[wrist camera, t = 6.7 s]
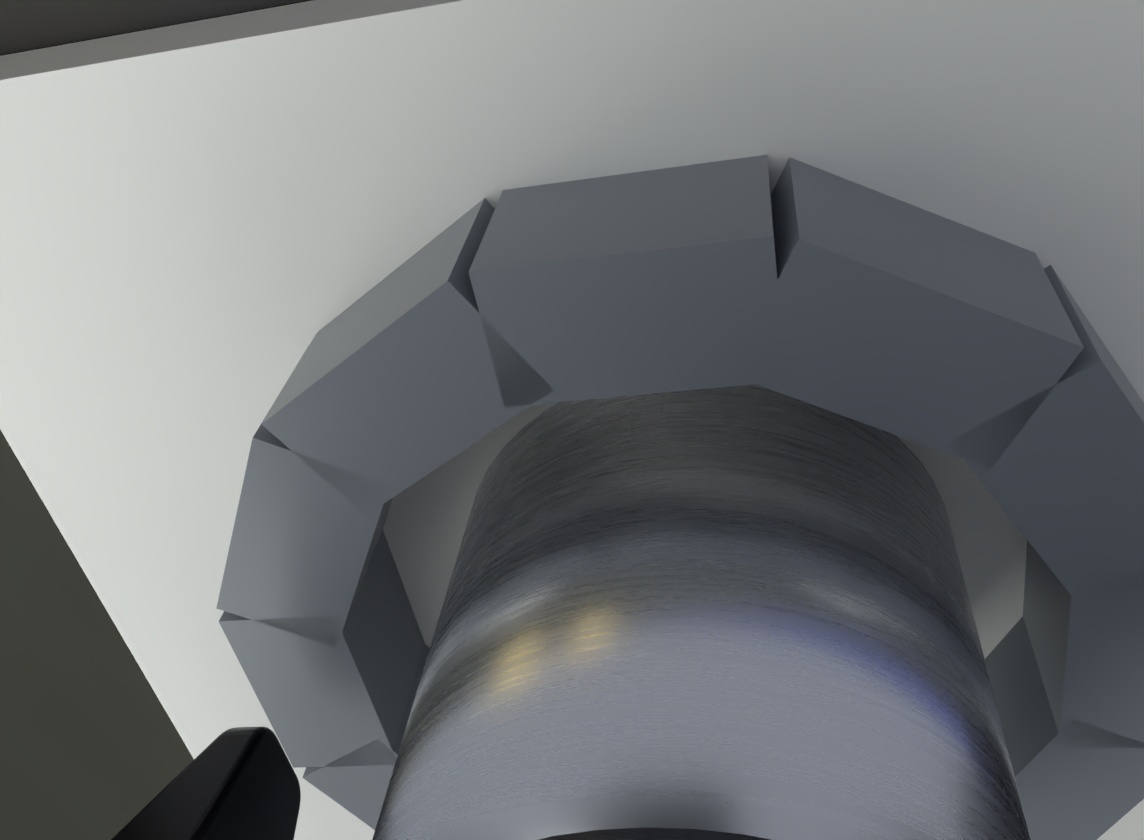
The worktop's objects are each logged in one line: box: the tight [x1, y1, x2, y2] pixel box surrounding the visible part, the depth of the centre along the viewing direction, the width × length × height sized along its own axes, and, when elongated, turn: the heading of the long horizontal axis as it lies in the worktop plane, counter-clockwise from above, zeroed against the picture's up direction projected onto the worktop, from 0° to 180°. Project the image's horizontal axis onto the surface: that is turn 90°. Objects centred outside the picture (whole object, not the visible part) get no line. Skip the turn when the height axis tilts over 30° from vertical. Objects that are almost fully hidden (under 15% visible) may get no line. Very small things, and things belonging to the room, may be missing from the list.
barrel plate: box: [0, 0, 1144, 840], centre depth 11 cm, size 14×12×2 cm
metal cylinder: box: [372, 384, 1031, 840], centre depth 9 cm, size 5×5×5 cm
